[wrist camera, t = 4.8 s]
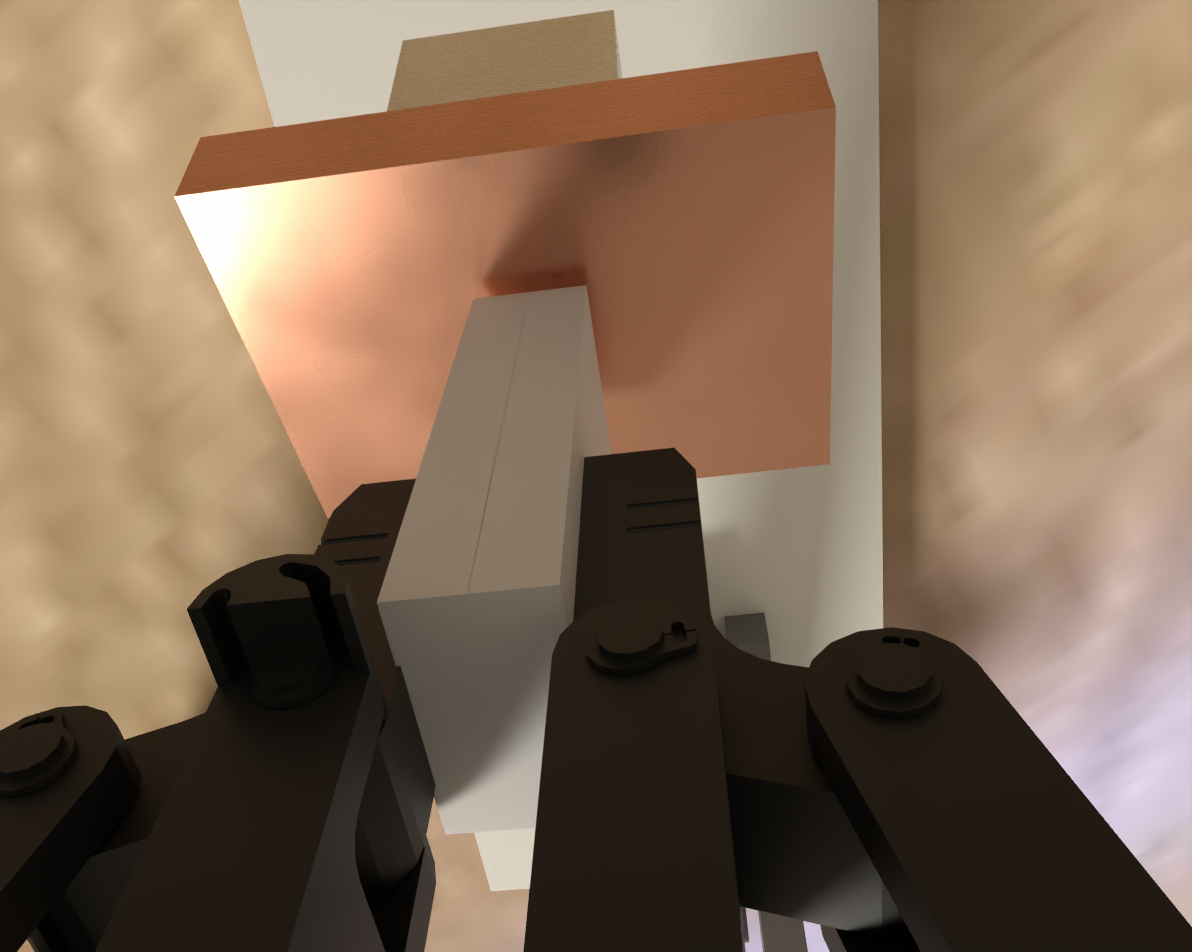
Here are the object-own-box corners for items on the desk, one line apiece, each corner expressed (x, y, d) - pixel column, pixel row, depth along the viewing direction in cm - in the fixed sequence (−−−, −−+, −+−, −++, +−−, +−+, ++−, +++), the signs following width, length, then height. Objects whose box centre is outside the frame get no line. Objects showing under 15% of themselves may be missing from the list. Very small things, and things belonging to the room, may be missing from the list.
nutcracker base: (239, -103, 26) (73, -59, 18) (858, -201, 24) (966, -200, 17) (496, 846, 42) (467, 1082, 34) (874, 816, 41) (932, 1055, 33)
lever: (234, 58, 16) (174, 197, 14) (793, -23, 15) (835, 107, 13) (565, 902, 38) (564, 1015, 35) (803, 885, 37) (820, 998, 35)
